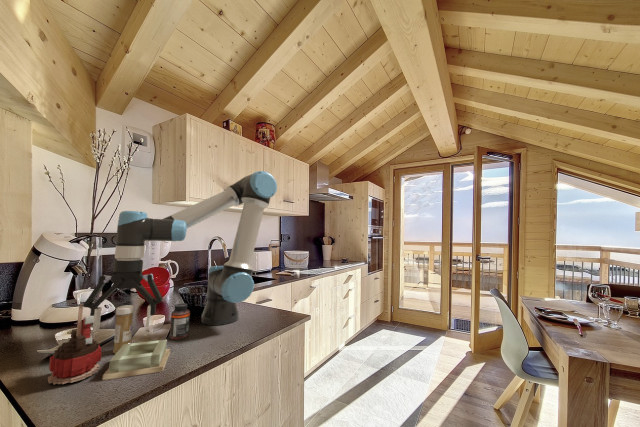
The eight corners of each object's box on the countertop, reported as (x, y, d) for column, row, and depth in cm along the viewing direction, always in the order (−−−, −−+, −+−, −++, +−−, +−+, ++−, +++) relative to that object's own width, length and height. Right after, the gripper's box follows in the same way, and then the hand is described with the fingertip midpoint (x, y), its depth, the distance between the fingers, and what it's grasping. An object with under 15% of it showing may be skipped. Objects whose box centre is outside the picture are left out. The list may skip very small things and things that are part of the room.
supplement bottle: (170, 335, 95) (172, 303, 96) (189, 333, 97) (190, 301, 98) (168, 341, 89) (170, 307, 90) (187, 338, 92) (189, 305, 93)
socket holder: (170, 352, 81) (170, 338, 81) (162, 371, 70) (163, 354, 70) (119, 359, 76) (120, 344, 76) (102, 380, 65) (104, 362, 65)
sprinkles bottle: (130, 352, 81) (133, 307, 82) (111, 355, 78) (115, 309, 79) (131, 346, 84) (134, 304, 86) (113, 350, 82) (116, 306, 83)
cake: (45, 376, 66) (53, 303, 68) (93, 363, 73) (99, 297, 75) (50, 393, 59) (59, 311, 61) (102, 376, 67) (109, 304, 68)
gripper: (175, 258, 92) (170, 320, 90) (85, 258, 83) (78, 328, 81) (171, 259, 85) (166, 327, 83) (73, 260, 76) (65, 336, 74)
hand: (122, 328), depth 82 cm, fingers open, 13 cm apart
